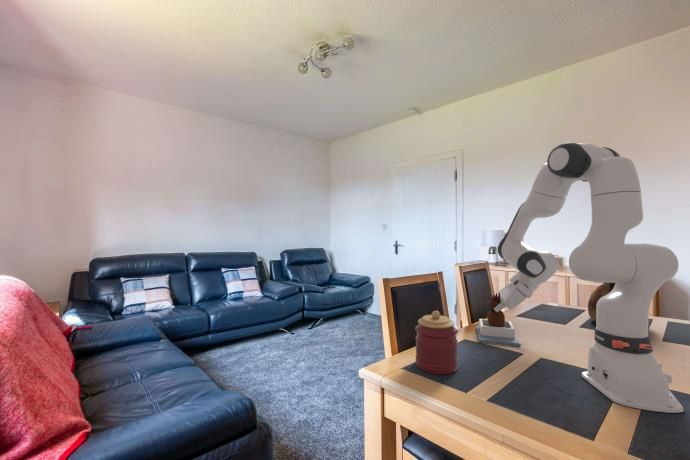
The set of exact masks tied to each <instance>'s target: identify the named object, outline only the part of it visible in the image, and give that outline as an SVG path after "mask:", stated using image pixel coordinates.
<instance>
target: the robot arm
mask: <svg viewBox="0 0 690 460" xmlns="http://www.w3.org/2000/svg"><path fill="white" fill-rule="evenodd" d="M637 171H638V170H637V169H636V167H635V163H634V162H633V160H631V159H629V158H628V157H624V156H621V155H620V154H619V153H618V152H617V151H615V150H614V149H612V148H609V147H605V146H600V145H594V144H592V143H578V142H577V143H576V142H565V143H561V144H557V145H556V146H555V147H553V149H552V150H551V151H550V153H549V154H548V156H547V160H546V162H545V163H544V164H543V165H542V167H541V168H540V170H539V171H538V173H537V175H536V177H535V179H534V182H533V184H532V187H531V190H530V191H529V194H528V196H527V199H526V200H525V201H524V202H522V204H521V205H520V206H519V207H518V209H517V211H516V212H515V213H516V214H515V215H514V217H513V219H512V222H511V224H510V226H509V228H508V230H507V232H506V234H505V236H503V237H502V238H501V240H500V242H499V244H498V246H497V254H498V256H499V257H500V258H501V259H503V260H504V261H505V262H508V264H509V265H511V266H512V267H513V268H515V270H517V271H518V272H517V273H515V274H514V275H513V276H512V277H510V279H508V280H509V281H508V282H509V283H508V284H506V285H505V286H504V287H502V288H501V289H500V290H499V291H497V295H498V294H499V292H500V302H501V303H500V304H499V305H497V306H495V307H494V310H495V311H496V312H498V311H500V310H501V309H502V310H503V309H505V308H507V309H509V310H512V309H514V308H516V307H517V306H519V305H520V304H522V303H523V302H524V301H525V300H526V299H530V298H532V297H533V295H534V292H535V291H536V290H537V289H538V288H539V287H540V285H542V284H543V283H546V282H547V281H549V279H551V277H552V276H554V275H555V273H557V271H558V270H559V268H560V266H561V264H560V261H559V260H558V258H557V257H555V255H554V254H553V253H551V252H550V251H549V250H545V251H543V250H542V251H541V250H537V249H535V248H533V247H530V246H529V245H528V244H526V243H525V241H524V237H525V235H526V233H527V231H528V229H529V227H530V225H531V223H532V222H533V221H534V220H535V219H539V218H540V219H545V218H550V217H552V216H555V215H556V214H558V213H560V211H561V210H562V208H563V207H564V205H565V203H566V200H567V197H568V194H569V191H570V188H571V186H572V185H573V184H574V183H575V182H577V181H582V182H588V184H589V188H590V203H591V222H590V223H591V225H590V228H589V231H588V233H587V235H586V237H585V239H583V241H582V242H581V243H580V244H579V245H578V246H576V247H575V248H573V250H572V251H571V253H570V254H569V257H568V266H569V269H570V271H571V273H572V274H573V276H575V277H576V278H577V279H579V280H582V281H586V282H590V283H591V282H593V283H596V284H597V283H598V284H603V283H615V286H614V288H613V289H612V291H611V292H610V293H609V294H607V295H605V296H603V297H602V298H600V299H599V300H598V302H597V305H596V320H595V321H596V323H595V324H596V327H594V332H593V335H594V341H595V342H594V343H593V345H592V346H591V347H590V348H588V355H587V356H588V357H587V368H586V369H587V370H585V371H582V372H581V377H582V378H583V379H584V380H585V381H586V382H588V383H589V384H590V385H591V386H593V387H594V388H596V389H597V390H598V391H599V392H601V393H602V394H603V395H604V396H605V397H607V398H608V399H610V401H612V402H614V403H616V404H620V405H622V406H627V407H630V408H633V409H634V408H635V409H640V410H644V411H651V412H660V413H672V414H673V413H674V414H675V413H683V412H684V407H683V405H682V404H681V403H680V401H679V400H678V398H677V397H676V396H675V395H674V394H673V393H672V392H671V390H670V388H669V387H670V385H669V384H672V382H673V378H672V377H673V376H672V375H671V374H670V373H668V372H666V373H665V372H664V371H663V369H662V366H663V365H662V363H659V362H658V361H657V360H656V357H655V356H654V354H653V351H654V350H653V349H654V348H653V346H652V345H653V342H652V339H651V337H650V335H649V315H650V307H651V303H652V301H653V299H654V297H655V295H656V293H657V292H658V291H659V289H660V288H661V287H662V285H664V284H665V283H666V282H667V281H669V280H672V279H673V278H674V277H675V276H676V274H677V272H678V270H679V260H678V257H677V255H676V254H675V253H674V251H673V250H671V248H668V247H666V246H662V245H657V244H649V243H625V241H626V240H625V239H626V236H627V234H628V233H629V231H631V230H632V229H634V228H636V227H637V226H639V225H640V224H641V223H642V221H643V219H644V212H643V211H644V209H643V201H642V192H641V184H640V179H639V174H638V172H637ZM502 310H501V311H502Z"/></svg>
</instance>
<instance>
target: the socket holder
mask: <svg viewBox="0 0 690 460" xmlns="http://www.w3.org/2000/svg"><path fill="white" fill-rule="evenodd" d="M478 322H479V323H478V325H476V333H477V337H478V338H477V339H478V343H479V342H483V343H482V344H487V343H493V344H492V345H497V344H500V345H501V346H507V345H509V346H510V347H517V348H518V347H520V348H521V341H520V340H519V338H518V336H517V334H516V331H515V330H516V329H515V326H514V325H513V323H512V321H511V320H505V324H504V327H491V326H489V323H488V319H487V318H485V319H484V318H479V321H478ZM500 345H499V346H500Z"/></svg>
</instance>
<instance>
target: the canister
mask: <svg viewBox="0 0 690 460" xmlns="http://www.w3.org/2000/svg"><path fill="white" fill-rule="evenodd" d="M417 323H418V324H417V325H416V326H415V331H416V336H415V351H416V352H415V362H416V363H415V364H416V366H417V368H419V370H422V372H426V373H429V374H433V375H449V374H453V373H454V372H456V371H457V370H458V366H459V363H458V362H459V360H458V343H459V342H458V339H457V334H458V333H459V332H458V329H457V328H456V327H455V324H456V323H455V321H453V320H452V319H450V317H448V316H445V315H441V313H440V312H439V311H438V310H433V311H432V312H431V314H426V315H423V316H422V317H421V318H419V319H418V320H417Z"/></svg>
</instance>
